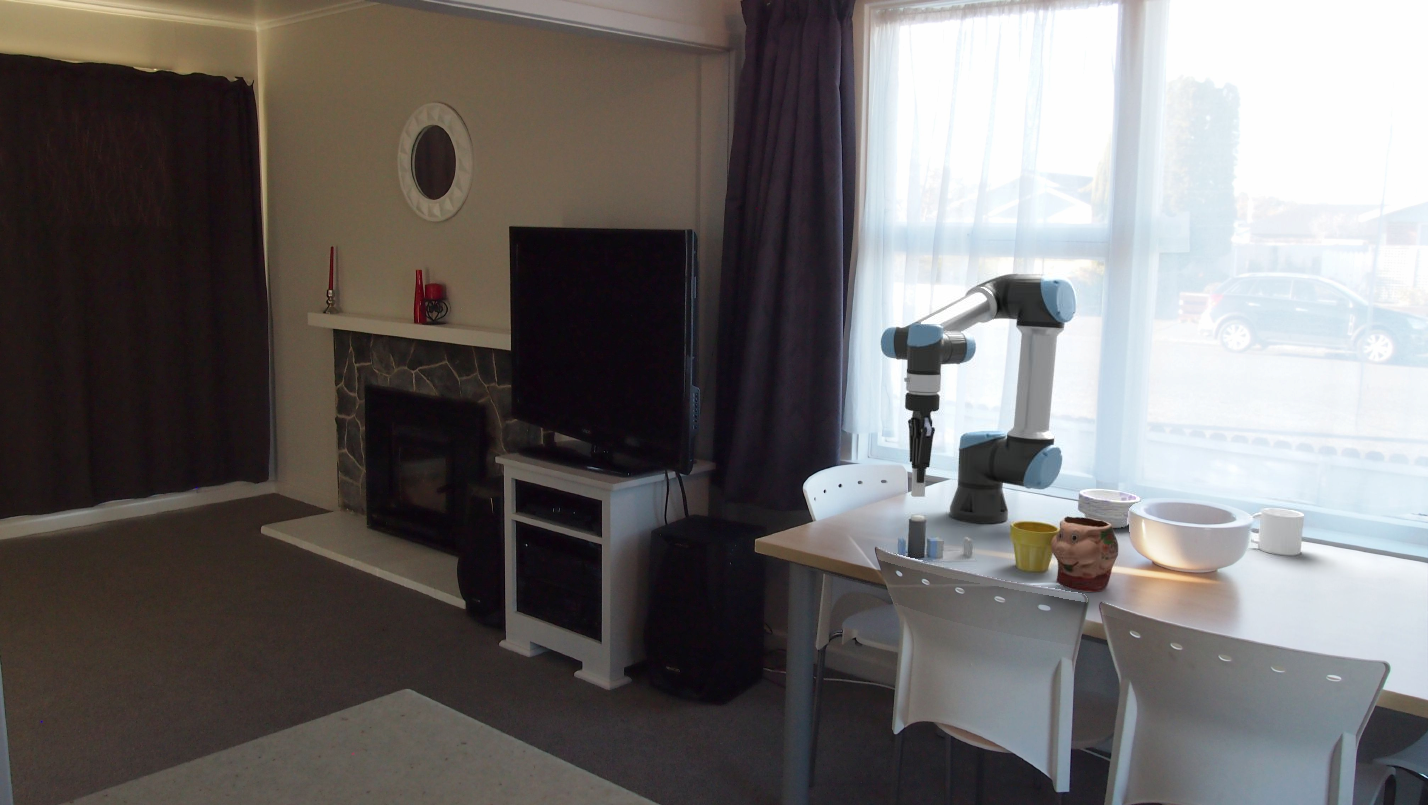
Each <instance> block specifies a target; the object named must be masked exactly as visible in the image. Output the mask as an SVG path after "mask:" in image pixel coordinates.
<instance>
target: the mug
mask: <svg viewBox="0 0 1428 805" xmlns="http://www.w3.org/2000/svg"><path fill="white" fill-rule="evenodd" d="M1251 517H1253V518H1254V519H1256V518H1259V528H1258V538H1257V539H1254V538H1253V537H1251V541H1250V542H1251V543H1253V544H1255V545H1256V544H1257V548H1258V549H1259V550H1260V551H1262V552H1264V553H1267V554H1273V555H1277V556H1286V557H1287V556H1288V557H1289V556H1290V557H1291V556H1292V557H1293V556H1299V555H1300V553H1301V550H1302V542H1303V529H1304V520H1305V514H1303V513H1302V512H1300V511H1297V510H1292V509H1286V508H1280V507H1279V508H1277V507H1265V508H1261V509H1260V512H1258V513H1254V514H1253V515H1252V516H1251Z"/></svg>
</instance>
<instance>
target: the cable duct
mask: <svg viewBox="0 0 1428 805" xmlns="http://www.w3.org/2000/svg"><path fill="white" fill-rule="evenodd" d="M944 542H945V541H944V540H943V539H942V538H941V537H937V536H936V537H933V536H932V537H927V536H926V548H925V556H924V558H921V559H918V560H923V561H928V562H932V563H933V562H977V560H976V559H975V558H974V557H973V543H974V542H973V539H971V537H970V536H969V537H968V536H966V537H965V536H964V537H963V550H956V551H955V550H944V546H945V545H944V544H945V543H944ZM906 544H907V540H905V538H904V537H898V538H897V551H893V553H894V554H895V553H897V554H899V555H903V556H906V557H908V550H907V548H906V547H907V545H906Z"/></svg>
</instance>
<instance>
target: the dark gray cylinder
mask: <svg viewBox="0 0 1428 805" xmlns="http://www.w3.org/2000/svg"><path fill="white" fill-rule="evenodd" d="M925 518H926V517H925V516H924V515H919V514H912V515H910V518H909V519H908V536H907V538H908V539H907V551H908V557H910V558H915V559H921V558H924V556H925V551H926V528H927V520H926V519H925Z"/></svg>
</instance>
